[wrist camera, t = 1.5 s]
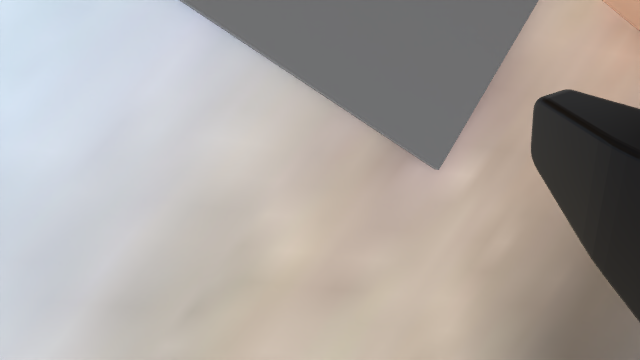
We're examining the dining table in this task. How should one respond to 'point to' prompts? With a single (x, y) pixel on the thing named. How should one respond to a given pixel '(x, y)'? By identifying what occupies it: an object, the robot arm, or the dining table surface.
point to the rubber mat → (385, 57)
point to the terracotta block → (627, 10)
